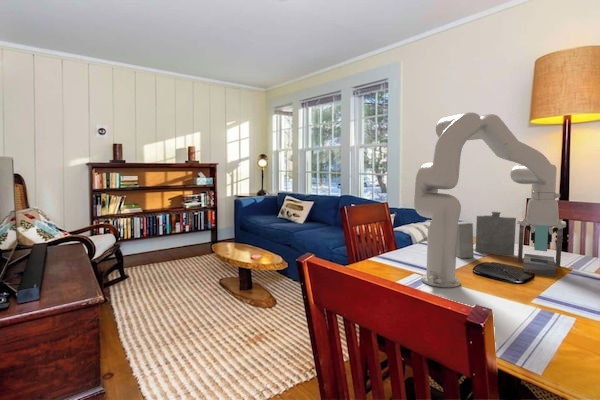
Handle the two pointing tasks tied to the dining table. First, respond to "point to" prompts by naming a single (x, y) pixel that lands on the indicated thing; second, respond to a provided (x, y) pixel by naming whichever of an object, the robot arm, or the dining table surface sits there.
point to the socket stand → (540, 256)
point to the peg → (541, 237)
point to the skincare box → (464, 240)
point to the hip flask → (495, 234)
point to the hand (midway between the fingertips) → (540, 242)
